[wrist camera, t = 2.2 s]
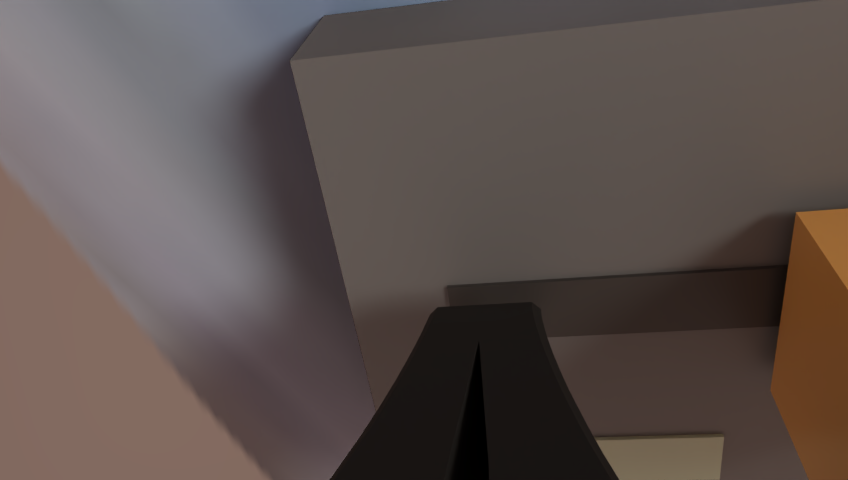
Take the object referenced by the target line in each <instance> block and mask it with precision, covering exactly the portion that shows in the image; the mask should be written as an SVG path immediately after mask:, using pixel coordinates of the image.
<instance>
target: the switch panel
mask: <svg viewBox="0 0 848 480" xmlns="http://www.w3.org/2000/svg"><path fill="white" fill-rule="evenodd" d="M290 64H291V68H292V72H293V76H294V80H295V84H296V88H297V92H298V96H299V101H300V105H301V109H302V113H303V117H304V121H305V125H306V129H307V133H308V137H309V141H310V145H311V149H312V153H313V157H314V162H315V166H316V170H317V174H318V178H319V182H320V186H321V190H322V194H323V198H324V202H325V206H326V210H327V214H328V219H329V223H330V227H331V231H332V235H333V239H334V243H335V247H336V251H337V255H338V259H339V263H340V267H341V271H342V276H343V280H344V284H345V288H346V292H347V296H348V300H349V304H350V308H351V312H352V316H353V320H354V324H355V328H356V332H357V337H358V341H359V345H360V349H361V353H362V357H363V361H364V365H365V369H366V373H367V377H368V381H369V385H370V389H371V394H372V398H373V402H374V406H375V410H376V411H377V410H378V408H379V406H380V405H381V403H382V402H383V400H384V398H385V397H386V395H387V394H388V392H389V390H390V389H391V387H392V385H393V384H394V382H395V380H396V379H397V377H398V375H399V373H400V372H401V370H402V368H403V366H404V365H405V363H406V361H407V359H408V357H409V356H410V354H411V352H412V350H413V348H414V346H415V344H416V342H417V340H418V338H419V337H420V335H421V333H422V331H423V329H424V326H425V324H426V322H427V320H428V318H429V316H430V314H431V313H432V312H433V311H434V310H435V309H436V308H437V307H448V306H466V305H484V304H502V303H521V302H532V303H534V304H535V305H536V306H538V307H539V308H540V309H541V315H542V320H543V324H544V328H545V331H546V335H547V338H548V341H549V344H550V346H551V349H552V352H553V354H554V357H555V359H556V361H557V364H558V366H559V369H560V371H561V373H562V376H563V378H564V380H565V382H566V384H567V386H568V388H569V391H570V393H571V395H572V396H573V398H574V400H575V402H576V404H577V406H578V408H579V410H580V412H581V414H582V416H583V418H584V420H585V422H586V423H587V425H588V427H589V429H590V431H591V433H592V435H593V436H594V438H595V440H596V442H597V443H598V445H599V447H600V449H601V450H602V452H603V454H604V456H605V457H606V459H607V460H608V462H609V464H610V465H611V467H612V469H613V470H614V472H615V474H616V475H617V477H618V478H619V480H809V479H808V477H807V474H806V472H805V470H804V467H803V465H802V463H801V460H800V458H799V456H798V453H797V451H796V449H795V446H794V444H793V442H792V439H791V437H790V435H789V433H788V430H787V428H786V426H785V423H784V421H783V419H782V416H781V414H780V412H779V409H778V407H777V405H776V402H775V400H774V398H773V395H772V393H771V391H770V389H771V382H772V375H773V368H774V361H775V354H776V347H777V340H778V333H779V326H780V320H781V313H782V306H783V299H784V292H785V285H786V278H787V271H788V264H789V257H790V250H791V243H792V236H793V229H794V222H795V215H796V212H805V211H819V210H833V209H847V208H848V0H447V1H439V2H431V3H423V4H415V5H407V6H399V7H390V8H382V9H374V10H366V11H358V12H350V13H342V14H333V15H325V16H324V17H323V18H322V19H321V20H320V22H319V23H318V24H317V26H316V27H315V28H314V30H313V31H312V32H311V34H310V35H309V36H308V37H307V39H306V40H305V41H304V43H303V44H302V45H301V47H300V48H299V49H298V51H297V52H296V53H295V54H294V56H293V57H292V58H291V60H290Z"/></svg>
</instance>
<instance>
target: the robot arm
mask: <svg viewBox="0 0 848 480" xmlns="http://www.w3.org/2000/svg"><path fill="white" fill-rule="evenodd" d="M330 480H619V478H618V477H617V475H616V474H615V472H614V470H613V469H612V467H611V465H610V464H609V462H608V460H607V459H606V457H605V456H604V454H603V452H602V450H601V449H600V447H599V445H598V443H597V442H596V440H595V438H594V436H593V435H592V433H591V431H590V429H589V427H588V425H587V423H586V422H585V420H584V418H583V416H582V414H581V412H580V410H579V408H578V406H577V404H576V402H575V400H574V398H573V396H572V395H571V393H570V391H569V388H568V386H567V384H566V382H565V380H564V378H563V376H562V373H561V371H560V369H559V366H558V364H557V361H556V359H555V357H554V354H553V352H552V349H551V346H550V344H549V341H548V338H547V335H546V331H545V328H544V324H543V320H542V315H541V309H540V308H539V307H538V306H536V305H535V304H534V303H532V302H521V303H502V304H484V305H466V306H448V307H437V308H436V309H435V310H434V311H433V312H432V313H431V314H430V316H429V318H428V320H427V322H426V324H425V326H424V329H423V331H422V333H421V335H420V337H419V338H418V340H417V342H416V344H415V346H414V348H413V350H412V352H411V354H410V356H409V357H408V359H407V361H406V363H405V365H404V366H403V368H402V370H401V372H400V373H399V375H398V377H397V379H396V380H395V382H394V384H393V385H392V387H391V389H390V390H389V392H388V394H387V395H386V397H385V398H384V400H383V402H382V403H381V405H380V406H379V408H378V410H377V411H376V413H375V415H374V416H373V418H372V419H371V421H370V423H369V424H368V426H367V427H366V429H365V430H364V432H363V433H362V435H361V436H360V438H359V439H358V441H357V442H356V443H355V445H354V446H353V448H352V449H351V451H350V452H349V453H348V455H347V456H346V458H345V459H344V460H343V462H342V463H341V465H340V466H339V468H338V469H337V470H336V472H335V473H334V475H333V476H332V478H331V479H330Z"/></svg>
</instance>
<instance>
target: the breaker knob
mask: <svg viewBox="0 0 848 480" xmlns="http://www.w3.org/2000/svg"><path fill="white" fill-rule="evenodd" d="M770 391H771V393H772V395H773V398H774V400H775V402H776V405H777V407H778V409H779V412H780V414H781V416H782V419H783V421H784V423H785V426H786V428H787V430H788V433H789V435H790V437H791V439H792V442H793V444H794V446H795V449H796V451H797V453H798V456H799V458H800V460H801V463H802V465H803V467H804V470H805V472H806V474H807V477H808V479H809V480H848V208H847V209H833V210H819V211H805V212H796V215H795V222H794V229H793V236H792V243H791V250H790V257H789V264H788V271H787V278H786V285H785V292H784V299H783V306H782V313H781V320H780V326H779V333H778V340H777V347H776V354H775V361H774V368H773V375H772V382H771V389H770Z"/></svg>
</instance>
